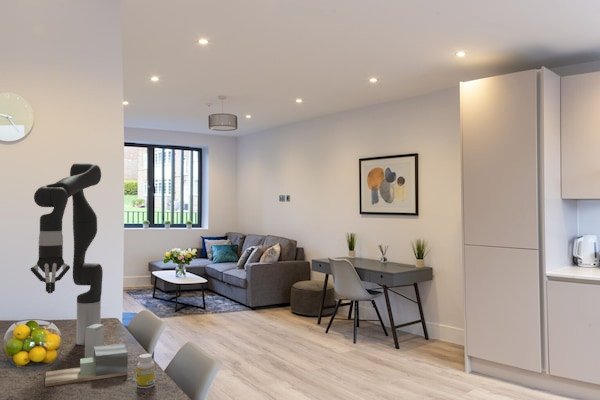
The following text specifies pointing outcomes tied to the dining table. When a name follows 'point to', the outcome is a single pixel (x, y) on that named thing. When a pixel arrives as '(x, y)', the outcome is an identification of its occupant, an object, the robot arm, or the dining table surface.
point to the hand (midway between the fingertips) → (50, 292)
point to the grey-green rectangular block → (88, 366)
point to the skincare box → (93, 338)
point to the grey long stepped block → (107, 365)
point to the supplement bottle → (145, 371)
